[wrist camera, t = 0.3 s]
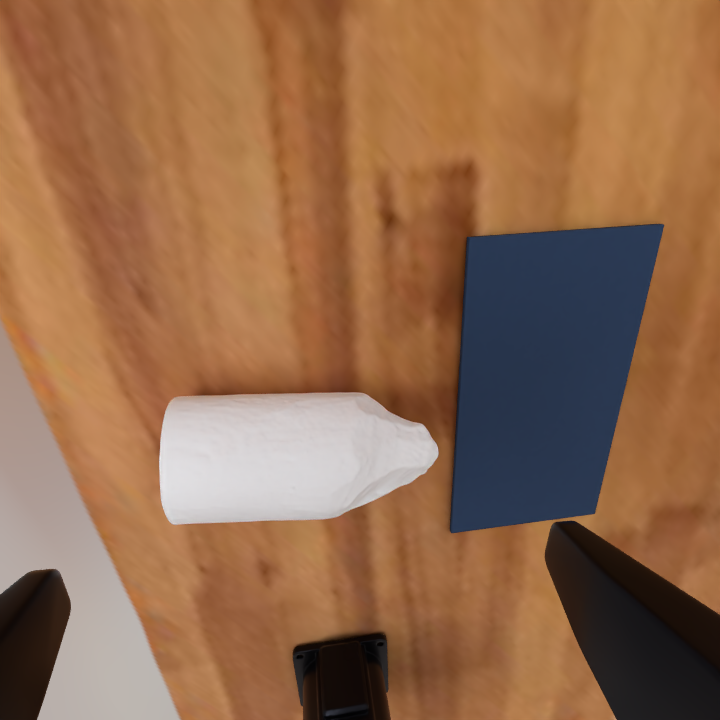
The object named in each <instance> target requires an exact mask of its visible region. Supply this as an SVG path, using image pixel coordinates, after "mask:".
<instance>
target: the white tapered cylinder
mask: <svg viewBox="0 0 720 720" xmlns="http://www.w3.org/2000/svg"><path fill="white" fill-rule="evenodd" d="M438 454H439V452H438V447H437V444H436V442H435V441H434V440H433V439H432V437H431V436H430V433H429V431H428V430H427V429H426V427H425V426H424V425H423V424H421V423H416V422H411V421H409V420H405V419H403V418H401V417H399V416H397V415H394V414H393V413H390V412H389V411H387V410H386V409H385V407H383V406H382V405H381V404H379V403H378V402H377V401H376V400H374V399H372V398H371V397H369V396H368V395H366V394H364V393H358V392H348V393H343V392H335V393H299V394H297V393H290V394H289V393H286V394H284V393H283V394H236V395H209V396H206V395H203V396H179V397H175V398H173V399H172V400H171V401H170V402H169V404H168V407H167V409H166V412H165V416H164V420H163V426H162V433H161V441H160V458H159V469H160V492H161V502H162V507H163V509H164V512H165V514H166V517H167V519H168V520H169V521H170V523H172V524H174V525H178V524H193V523H222V522H250V521H272V520H274V521H280V520H316V519H330V518H334V517H338V516H340V515H342V514H343V513H344V512H347V511H349V510H351V509H353V508H356V507H359V506H362V505H364V504H366V503H369V502H371V501H373V500H375V499H378V498H379V497H381V496H384V495H386V494H388V493H389V492H391V491H392V490H394V489H396V488H398V487H400V486H402V485H406V484H409V483H411V482H412V481H414V480H415V479H416V478H417V477H418V476H420V475H422V474H424V473H426V472H427V469H428V468H429V467H431V466H432V465H433V463H434V461H435V460H436V459H437V457H438Z"/></svg>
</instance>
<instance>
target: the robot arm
mask: <svg viewBox="0 0 720 720" xmlns="http://www.w3.org/2000/svg"><path fill="white" fill-rule="evenodd" d="M545 561H546V565H547V568H548V570H549V573H550V575H551V578H552V580H553V583H554V585H555V588H556V590H557V593H558V595H559V598H560V600H561V603H562V605H563V608H564V610H565V613H566V615H567V618H568V620H569V623H570V625H571V628H572V630H573V633H574V635H575V637H576V639H577V642H578V644H579V646H580V648H581V650H582V653H583V655H584V657H585V659H586V661H587V663H588V665H589V667H590V668H591V670H592V672H593V674H594V676H595V678H596V680H597V682H598V684H599V686H600V688H601V690H602V692H603V694H604V696H605V698H606V700H607V702H608V704H609V705H610V707H611V709H612V711H613V713H614V715H615V717H616V719H617V720H720V615H719V614H718V613H716V612H715V611H713V610H712V609H710V608H709V607H707V606H705V605H704V604H702V603H701V602H699V601H698V600H696V599H695V598H693V597H692V596H690V595H688V594H687V593H685V592H684V591H682V590H681V589H679V588H678V587H676V586H675V585H673V584H672V583H670V582H668V581H667V580H665V579H664V578H662V577H661V576H659V575H658V574H656V573H655V572H653V571H652V570H650V569H648V568H647V567H645V566H644V565H642V564H641V563H639V562H638V561H636V560H635V559H633V558H632V557H630V556H628V555H627V554H625V553H624V552H622V551H621V550H619V549H618V548H616V547H615V546H613V545H611V544H610V543H608V542H607V541H605V540H604V539H602V538H601V537H599V536H598V535H596V534H595V533H593V532H591V531H590V530H588V529H587V528H585V527H584V526H582V525H581V524H579V523H577V522H575V521H562V522H555V523H554V524H553V525H552V526H551V529H550V533H549V537H548V542H547V546H546V550H545ZM70 610H71V603H70V598H69V596H68V593H67V590H66V588H65V585H64V582H63V579H62V577H61V574H60V572H59V571H58V570H56V569H46V570H35V571H31V572H29V573H27V574H25V575H24V576H23V577H21V578H20V579H19V580H18V581H16V582H15V583H14V584H13V585H11V586H10V587H9V588H8V589H6V590H5V591H4V592H3V593H2V594H0V720H37V717H38V715H39V712H40V709H41V706H42V703H43V700H44V697H45V694H46V690H47V687H48V684H49V681H50V678H51V674H52V671H53V668H54V665H55V661H56V658H57V655H58V651H59V648H60V645H61V642H62V638H63V635H64V632H65V629H66V626H67V622H68V619H69V616H70ZM293 662H294V668H295V674H296V680H297V685H298V691H299V697H300V703H301V706H303V720H391V718H390V712H389V706H388V700H387V694H386V693H387V692H388V661H387V640H386V636H385V635H383V634H376V635H370V636H363V637H357V638H350V639H344V640H337V641H331V642H325V643H318V644H312V645H305V646H299V647H296V648H295V649H294V650H293Z"/></svg>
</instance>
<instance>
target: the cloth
mask: <svg viewBox="0 0 720 720" xmlns="http://www.w3.org/2000/svg"><path fill="white" fill-rule="evenodd" d="M663 228H664V225H663V224H650V225H635V226H621V227H606V228H591V229H577V230H562V231H548V232H533V233H519V234H504V235H490V236H475V237H467V246H466V263H465V280H464V297H463V314H462V332H461V349H460V366H459V383H458V400H457V417H456V434H455V451H454V468H453V485H452V502H451V519H450V531H451V533H457V532H464V531H471V530H479V529H486V528H494V527H501V526H508V525H516V524H523V523H531V522H538V521H545V520H553V519H560V518H567V517H575V516H582V515H590V514H595V510H596V506H597V502H598V498H599V494H600V490H601V485H602V481H603V477H604V473H605V469H606V465H607V461H608V456H609V452H610V448H611V444H612V440H613V436H614V431H615V427H616V423H617V419H618V415H619V411H620V406H621V402H622V398H623V394H624V390H625V386H626V381H627V377H628V373H629V369H630V365H631V361H632V357H633V352H634V348H635V344H636V340H637V336H638V332H639V327H640V323H641V319H642V315H643V311H644V307H645V302H646V298H647V294H648V290H649V286H650V282H651V278H652V273H653V269H654V265H655V261H656V257H657V253H658V248H659V244H660V240H661V236H662V232H663Z"/></svg>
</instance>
